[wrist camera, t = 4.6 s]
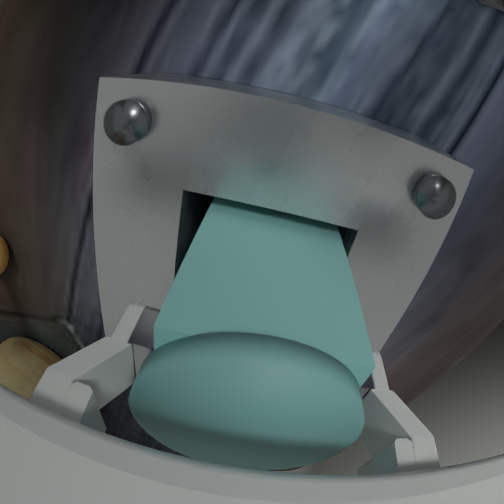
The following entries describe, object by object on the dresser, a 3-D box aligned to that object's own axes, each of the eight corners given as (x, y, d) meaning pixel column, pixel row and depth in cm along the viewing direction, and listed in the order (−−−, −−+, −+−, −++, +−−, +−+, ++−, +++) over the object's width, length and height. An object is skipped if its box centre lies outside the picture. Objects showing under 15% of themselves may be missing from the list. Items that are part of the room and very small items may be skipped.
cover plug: (224, 152, 16) (115, 329, 5) (334, 178, 17) (412, 383, 6) (208, 247, 19) (138, 446, 9) (304, 268, 20) (313, 476, 9)
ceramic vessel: (63, 412, 38) (12, 541, 17) (-24, 320, 30) (-109, 456, 8) (141, 415, 34) (90, 591, 13) (31, 296, 25) (-92, 506, 4)
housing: (164, 72, 15) (91, 78, 9) (410, 132, 16) (482, 175, 9) (146, 278, 22) (103, 356, 16) (334, 319, 23) (346, 406, 16)
